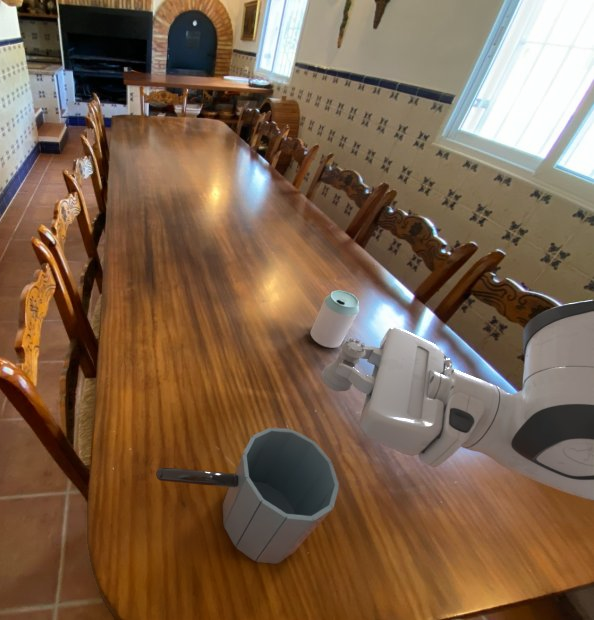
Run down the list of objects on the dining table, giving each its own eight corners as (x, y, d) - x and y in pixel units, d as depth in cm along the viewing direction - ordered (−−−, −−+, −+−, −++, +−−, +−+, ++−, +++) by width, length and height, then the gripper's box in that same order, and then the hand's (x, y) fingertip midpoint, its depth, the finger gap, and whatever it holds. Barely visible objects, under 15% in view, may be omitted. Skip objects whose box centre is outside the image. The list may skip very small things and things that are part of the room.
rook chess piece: (329, 365, 57) (349, 329, 52) (355, 383, 54) (379, 347, 49) (314, 378, 55) (332, 341, 49) (340, 398, 52) (363, 361, 47)
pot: (290, 483, 56) (323, 432, 47) (306, 566, 48) (351, 524, 38) (156, 471, 56) (161, 417, 47) (149, 552, 48) (153, 506, 38)
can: (343, 352, 80) (366, 311, 72) (311, 346, 81) (330, 305, 73) (337, 331, 85) (358, 291, 78) (307, 326, 86) (325, 285, 78)
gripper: (464, 341, 51) (363, 304, 56) (464, 451, 38) (332, 388, 43) (440, 370, 55) (348, 332, 61) (432, 479, 42) (315, 418, 47)
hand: (341, 356), depth 52 cm, fingers closed on rook chess piece, 3 cm apart
